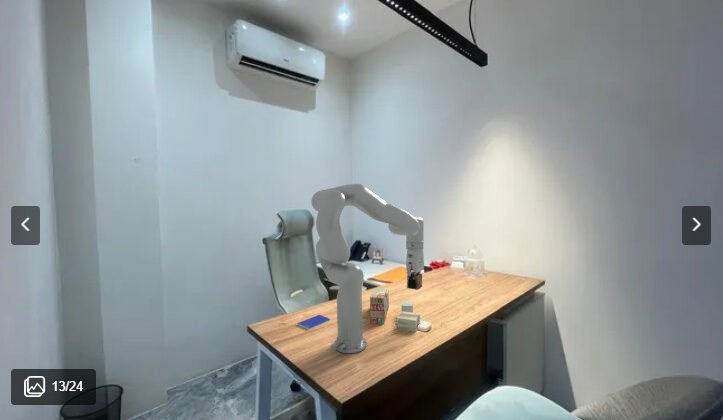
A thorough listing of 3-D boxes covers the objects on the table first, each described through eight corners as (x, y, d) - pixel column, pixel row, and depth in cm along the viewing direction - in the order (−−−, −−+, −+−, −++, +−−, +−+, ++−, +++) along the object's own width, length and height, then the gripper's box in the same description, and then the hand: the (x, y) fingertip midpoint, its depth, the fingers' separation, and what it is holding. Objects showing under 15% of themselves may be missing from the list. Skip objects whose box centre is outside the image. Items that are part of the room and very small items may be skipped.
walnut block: (417, 289, 128) (418, 276, 128) (407, 288, 131) (407, 274, 131) (422, 287, 132) (422, 273, 132) (411, 285, 135) (411, 272, 135)
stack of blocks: (376, 306, 154) (376, 283, 153) (389, 307, 153) (388, 283, 152) (370, 323, 133) (369, 296, 132) (384, 324, 132) (383, 297, 131)
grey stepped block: (415, 332, 124) (415, 320, 123) (397, 329, 127) (397, 318, 127) (420, 324, 131) (420, 313, 131) (402, 322, 134) (402, 311, 134)
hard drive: (308, 327, 128) (330, 318, 137) (297, 322, 133) (318, 314, 142) (308, 331, 128) (330, 322, 137) (297, 326, 133) (318, 317, 143)
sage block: (412, 318, 137) (412, 306, 137) (401, 318, 138) (401, 305, 138) (413, 314, 142) (412, 302, 142) (402, 314, 143) (402, 301, 143)
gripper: (415, 248, 122) (415, 292, 122) (429, 243, 136) (429, 283, 137) (398, 247, 126) (398, 290, 126) (413, 242, 140) (413, 280, 141)
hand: (414, 286), depth 132 cm, fingers closed on walnut block, 5 cm apart
